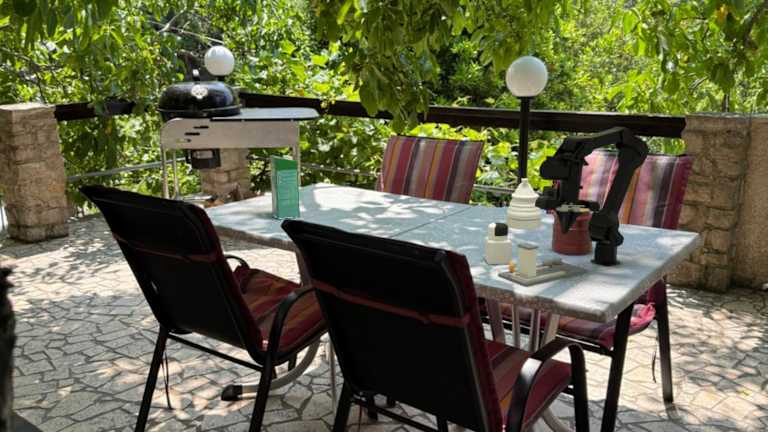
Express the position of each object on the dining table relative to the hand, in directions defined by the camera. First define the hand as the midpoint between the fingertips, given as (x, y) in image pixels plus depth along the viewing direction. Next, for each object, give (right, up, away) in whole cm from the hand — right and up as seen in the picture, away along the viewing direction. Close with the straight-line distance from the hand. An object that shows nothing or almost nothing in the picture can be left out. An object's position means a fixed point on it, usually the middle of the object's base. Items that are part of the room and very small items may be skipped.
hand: (564, 233), depth 213 cm
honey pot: (0, +1, +61) cm, 61 cm away
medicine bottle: (-17, -9, +15) cm, 25 cm away
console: (-6, -12, +1) cm, 13 cm away
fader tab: (-12, -13, -5) cm, 18 cm away
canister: (+9, -6, +26) cm, 28 cm away
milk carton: (-92, +5, +82) cm, 123 cm away
